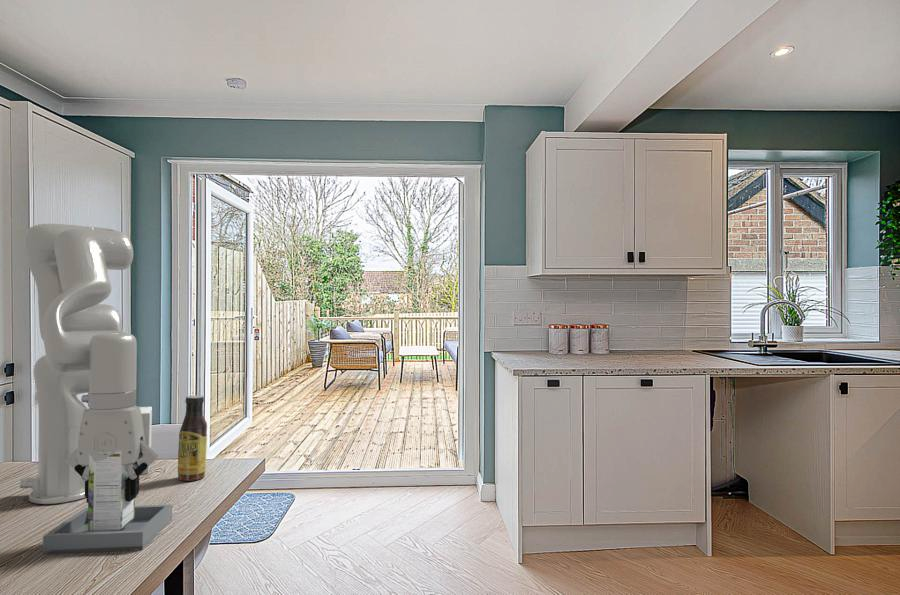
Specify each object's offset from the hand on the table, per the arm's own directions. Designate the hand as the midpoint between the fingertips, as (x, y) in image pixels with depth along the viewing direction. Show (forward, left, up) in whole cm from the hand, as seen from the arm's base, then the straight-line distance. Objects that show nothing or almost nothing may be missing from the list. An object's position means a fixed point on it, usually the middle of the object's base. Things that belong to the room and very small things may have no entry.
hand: (112, 498), depth 107 cm
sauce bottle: (+3, +35, -7) cm, 36 cm away
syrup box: (0, 0, -5) cm, 5 cm away
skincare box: (-13, +43, -7) cm, 45 cm away
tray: (0, 0, -7) cm, 7 cm away
